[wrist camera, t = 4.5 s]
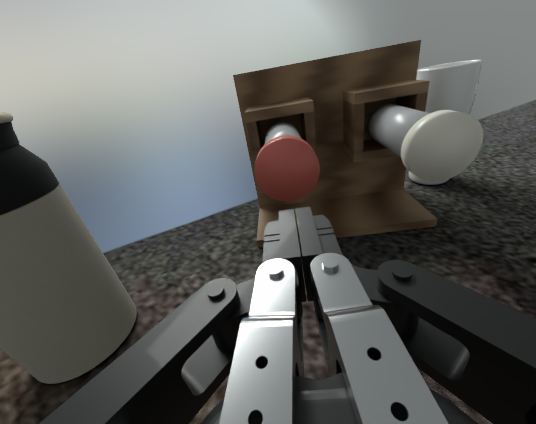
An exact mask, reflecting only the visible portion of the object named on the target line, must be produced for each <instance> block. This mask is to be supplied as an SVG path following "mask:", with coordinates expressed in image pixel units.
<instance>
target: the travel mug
mask: <svg viewBox="0 0 536 424" xmlns="http://www.w3.org/2000/svg"><path fill="white" fill-rule="evenodd" d="M12 120H13V117H12V115H10V114H8V113H0V348H1V349H2V350H3V351H4V352H6V353H7V354H8V355H9V356H10V357H11V358H13V359H14V360H15V361H16V362H17V363H18V364H20V365H21V366H22V367H23V368H24V369H25V370H26V371H28V372H29V373H30V374H31V375H32V376H33V377H35V378H36V379H37V380H38V381H40V382H42V383H47V384H55V383H61V382H65V381H68V380H71V379H73V378H76V377H78V376H80V375H82V374H84V373H86V372H88V371H89V370H91V369H93V368H94V367H96V366H97V365H98V364H100V363H101V362H102V361H104V360H105V359H106V358H107V357H109V356H110V355H111V354H112V353H113V352H114V351H115V350H116V349H117V348H118V347H119V346H120V345H121V344H122V342H123V341H124V340H125V339H126V337H127V336H128V334H129V333H130V331H131V329H132V327H133V325H134V323H135V320H136V315H137V310H136V306H135V304H134V302H133V301H132V299H131V298H130V296H129V294H128V293H127V291H126V290H125V288H124V286H123V285H122V283H121V282H120V280H119V278H118V277H117V275H116V274H115V272H114V270H113V269H112V267H111V265H110V264H109V262H108V261H107V259H106V257H105V256H104V254H103V253H102V251H101V250H100V248H99V246H98V245H97V243H96V241H95V240H94V238H93V237H92V235H91V233H90V232H89V230H88V229H87V227H86V225H85V224H84V222H83V221H82V219H81V218H80V216H79V214H78V212H77V211H76V209H75V208H74V206H73V205H72V203H71V201H70V200H69V198H68V196H67V195H66V193H65V191H64V190H63V188H62V187H61V185H60V184H59V182H58V181H57V179H56V177H55V175H54V174H53V172H52V171H51V169H50V168H49V166H48V164H47V163H46V162H45V161H43V160H42V159H41V158H39V157H38V156H36V155H35V154H33V153H31V152H30V151H28V150H27V149H25V148H24V147H22V146H21V145H19V141H18V139H17V136H16V134H15V132H14V130H13V127H12V123H11V121H12Z"/></svg>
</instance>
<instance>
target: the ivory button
mask: <svg viewBox="0 0 536 424" xmlns="http://www.w3.org/2000/svg"><path fill="white" fill-rule="evenodd" d="M368 131H369V134H370V136H371V137H372V138H373V139H374V140H375V141H377V142H378V143H380V144H382V145H383V146H385V147H386V148H388V149H389V150H391V151H392V152H394V153H395V154H397V155H399V156H400V157H401V159H402V162H403V164H404V166H405V167H406V168H407V169H408V170H409V171H410V172H412V173H413V174H414V175H416V176H417V177H419V178H420V179H422V180H425V181H433V182H435V181H443V180H446V179H449V178H452V177H454V176H456V175H457V174H459V173H460V172H462V171H463V170H464V169H466V168H467V167H468V166H469V165H470V164H471V163H472V162H473V160H474V159H475V158H476V156H477V154H478V153H479V150H480V148H481V145H482V141H483V130H482V127H481V125H480V123H479V121H478V120H477V119H476V118H475V117H473V116H472V115H470V114H467V113H463V112H458V111H453V110H440V111H436V112H433V113H427V112H423V111H419V110H415V109H411V108H407V107H403V106H399V105H394V104H388V105H384V106H382V107H380V108H379V109H377V110H376V111H375V112H374V113H373V115H372V116H371V118H370V120H369V124H368Z"/></svg>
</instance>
